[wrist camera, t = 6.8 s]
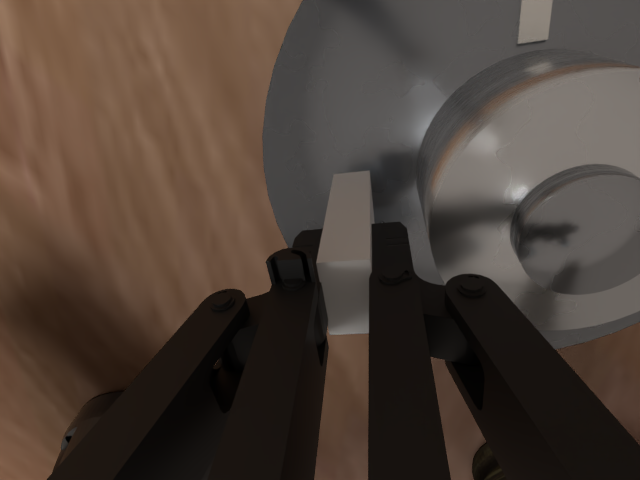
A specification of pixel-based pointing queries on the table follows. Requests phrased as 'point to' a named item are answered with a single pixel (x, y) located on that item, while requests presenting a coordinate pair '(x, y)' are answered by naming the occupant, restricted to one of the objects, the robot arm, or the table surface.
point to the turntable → (405, 98)
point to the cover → (540, 185)
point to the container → (486, 465)
